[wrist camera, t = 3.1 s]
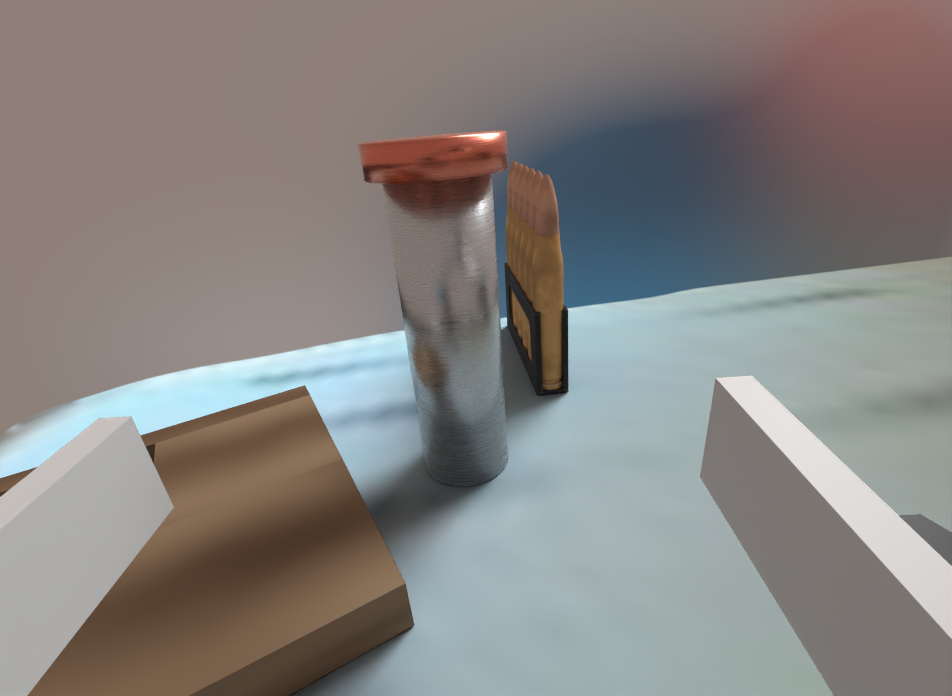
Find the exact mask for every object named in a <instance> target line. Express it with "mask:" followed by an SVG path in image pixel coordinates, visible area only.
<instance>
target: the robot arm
mask: <svg viewBox="0 0 952 696" xmlns="http://www.w3.org/2000/svg"><path fill="white" fill-rule="evenodd" d="M700 478H701V479H702V481H703V483H704V484H705V486H706V488H707V489H708V491H709V492H710V494H711V496H712V497H713V499H714V501H715V502H716V504H717V505H718V507H719V509H720V510H721V512H722V514H723V515H724V517H725V519H726V520H727V522H728V523H729V525H730V527H731V528H732V530H733V532H734V533H735V535H736V536H737V538H738V540H739V541H740V543H741V545H742V546H743V548H744V550H745V551H746V553H747V554H748V556H749V558H750V559H751V561H752V563H753V564H754V566H755V567H756V569H757V571H758V572H759V574H760V576H761V577H762V579H763V581H764V582H765V584H766V585H767V587H768V589H769V590H770V592H771V594H772V595H773V597H774V598H775V600H776V602H777V603H778V605H779V607H780V608H781V610H782V612H783V613H784V615H785V616H786V618H787V620H788V621H789V623H790V625H791V626H792V628H793V629H794V631H795V633H796V634H797V636H798V638H799V639H800V641H801V643H802V644H803V646H804V647H805V649H806V651H807V652H808V654H809V656H810V657H811V659H812V660H813V662H814V664H815V665H816V667H817V669H818V670H819V672H820V674H821V675H822V677H823V678H824V680H825V682H826V683H827V685H828V687H829V688H830V690H831V691H832V693H833V695H834V696H952V532H950V531H948V530H946V529H945V528H943V527H941V526H940V525H938V524H936V523H934V522H933V521H931V520H929V519H928V518H926V517H924V516H922V515H921V514H918V515H900V516H898V515H897V514H896V513H895V512H894V511H893V510H892V509H891V508H890V507H889V506H888V505H887V504H886V503H885V502H884V501H883V500H882V499H881V498H880V497H879V496H877V495H876V494H875V493H874V492H873V491H872V490H871V489H870V488H869V487H868V486H867V485H866V484H865V483H864V482H863V481H862V480H861V479H860V478H859V477H858V476H856V475H855V474H854V473H853V472H852V471H851V470H850V469H849V468H848V467H847V466H846V465H845V464H844V463H843V462H842V461H841V460H840V459H839V458H838V457H837V456H835V455H834V454H833V453H832V452H831V451H830V450H829V449H828V448H827V447H826V446H825V445H824V444H823V443H822V442H821V441H820V440H819V439H818V438H817V437H816V436H814V435H813V434H812V433H811V432H810V431H809V430H808V429H807V428H806V427H805V426H804V425H803V424H802V423H801V422H800V421H799V420H798V419H797V418H796V417H795V416H793V415H792V414H791V413H790V412H789V411H788V410H787V409H786V408H785V407H784V406H783V405H782V404H781V403H780V402H779V401H778V400H777V399H776V398H775V397H773V396H772V395H771V394H770V393H769V392H768V391H767V390H766V389H765V388H764V387H763V386H762V385H761V384H760V383H759V382H758V381H757V380H756V379H755V378H754V377H752V376H740V377H724V378H716V380H715V386H714V392H713V399H712V405H711V411H710V417H709V424H708V430H707V436H706V443H705V449H704V455H703V461H702V468H701V474H700ZM173 508H174V506H173V504H172V502H171V500H170V498H169V496H168V493H167V491H166V489H165V487H164V485H163V483H162V481H161V479H160V476H159V474H158V472H157V470H156V468H155V466H154V464H153V462H152V459H151V457H150V455H149V453H148V451H147V449H146V447H145V445H144V442H143V440H142V438H141V436H140V434H139V432H138V430H137V428H136V425H135V423H134V421H133V419H132V417H131V416H129V417H114V418H99V419H98V420H96V421H95V422H94V423H93V424H91V425H90V426H89V427H88V428H86V429H85V430H84V431H83V432H81V433H80V434H79V435H78V436H76V437H75V438H74V439H72V440H71V441H70V442H69V443H67V444H66V445H65V446H64V447H62V448H61V449H60V450H59V451H57V452H56V453H55V454H54V455H52V456H51V457H50V458H49V459H47V460H46V461H45V462H44V463H42V464H41V465H40V466H39V467H37V468H36V469H35V470H34V471H32V472H31V473H30V474H29V475H27V476H26V477H25V478H24V479H22V480H21V481H20V482H19V483H17V484H16V485H15V486H13V487H12V488H11V489H10V490H8V491H7V492H6V493H5V494H3V495H2V496H1V497H0V696H27V695H28V694H29V693H30V692H31V690H32V689H33V688H34V686H35V685H36V684H37V683H38V681H39V680H40V679H41V677H42V676H43V675H44V674H45V672H46V671H47V670H48V668H49V667H50V666H51V665H52V663H53V662H54V661H55V659H56V658H57V657H58V656H59V654H60V653H61V652H62V650H63V649H64V648H65V647H66V645H67V644H68V643H69V641H70V640H71V639H72V638H73V636H74V635H75V634H76V632H77V631H78V630H79V629H80V627H81V626H82V625H83V623H84V622H85V621H86V620H87V618H88V617H89V616H90V614H91V613H92V612H93V611H94V609H95V608H96V607H97V605H98V604H99V603H100V602H101V600H102V599H103V598H104V596H105V595H106V594H107V593H108V591H109V590H110V589H111V587H112V586H113V585H114V584H115V582H116V581H117V580H118V578H119V577H120V576H121V575H122V573H123V572H124V571H125V570H126V568H127V567H128V566H129V564H130V563H131V562H132V561H133V559H134V558H135V557H136V555H137V554H138V553H139V552H140V550H141V549H142V548H143V546H144V545H145V544H146V543H147V541H148V540H149V539H150V537H151V536H152V535H153V534H154V532H155V531H156V530H157V528H158V527H159V526H160V525H161V523H162V522H163V521H164V519H165V518H166V517H167V516H168V514H169V513H170V512H171V510H172V509H173Z"/></svg>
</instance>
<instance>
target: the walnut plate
mask: <svg viewBox="0 0 952 696" xmlns="http://www.w3.org/2000/svg"><path fill="white" fill-rule="evenodd" d="M141 438H142V440H143V442H144V445H145V447H146V449H147V451H148V453H149V455H150V457H151V459H152V462H153V464H154V466H155V468H156V470H157V472H158V474H159V476H160V479H161V481H162V483H163V485H164V487H165V489H166V491H167V493H168V496H169V498H170V500H171V502H172V504H173V506H174V508H173V509H172V510H171V512H170V513H169V514H168V516H167V517H166V518H165V519H164V521H163V522H162V523H161V525H160V526H159V527H158V528H157V530H156V531H155V532H154V534H153V535H152V536H151V537H150V539H149V540H148V541H147V543H146V544H145V545H144V546H143V548H142V549H141V550H140V552H139V553H138V554H137V555H136V557H135V558H134V559H133V561H132V562H131V563H130V564H129V566H128V567H127V568H126V570H125V571H124V572H123V573H122V575H121V576H120V577H119V578H118V580H117V581H116V582H115V584H114V585H113V586H112V587H111V589H110V590H109V591H108V593H107V594H106V595H105V596H104V598H103V599H102V600H101V602H100V603H99V604H98V605H97V607H96V608H95V609H94V611H93V612H92V613H91V614H90V616H89V617H88V618H87V620H86V621H85V622H84V623H83V625H82V626H81V627H80V629H79V630H78V631H77V632H76V634H75V635H74V636H73V638H72V639H71V640H70V641H69V643H68V644H67V645H66V647H65V648H64V649H63V650H62V652H61V653H60V654H59V656H58V657H57V658H56V659H55V661H54V662H53V663H52V665H51V666H50V667H49V668H48V670H47V671H46V672H45V674H44V675H43V676H42V677H41V679H40V680H39V681H38V683H37V684H36V685H35V686H34V688H33V689H32V690H31V692H30V693H29V694H28V695H27V696H289V695H291V694H293V693H294V692H296V691H298V690H300V689H302V688H303V687H305V686H307V685H309V684H310V683H312V682H314V681H316V680H318V679H319V678H321V677H323V676H325V675H327V674H328V673H330V672H332V671H334V670H335V669H337V668H339V667H341V666H343V665H344V664H346V663H348V662H350V661H351V660H353V659H355V658H357V657H359V656H360V655H362V654H364V653H366V652H367V651H369V650H371V649H373V648H375V647H376V646H378V645H380V644H382V643H383V642H385V641H387V640H389V639H391V638H392V637H394V636H396V635H398V634H399V633H401V632H403V631H405V630H407V629H408V628H410V627H412V626H414V622H413V617H412V612H411V608H410V603H409V598H408V593H407V589H406V584H405V582H404V580H403V578H402V576H401V574H400V572H399V570H398V568H397V566H396V564H395V562H394V560H393V558H392V556H391V554H390V552H389V550H388V548H387V546H386V544H385V542H384V540H383V538H382V536H381V534H380V532H379V530H378V528H377V526H376V524H375V522H374V520H373V519H372V517H371V515H370V513H369V511H368V509H367V507H366V505H365V503H364V501H363V499H362V497H361V495H360V493H359V491H358V489H357V487H356V485H355V483H354V481H353V479H352V477H351V475H350V473H349V471H348V469H347V467H346V465H345V463H344V461H343V459H342V457H341V455H340V454H339V452H338V450H337V448H336V446H335V444H334V442H333V440H332V438H331V436H330V434H329V432H328V430H327V428H326V426H325V424H324V422H323V420H322V418H321V416H320V414H319V412H318V410H317V408H316V406H315V404H314V402H313V400H312V398H311V396H310V394H309V392H308V390H307V389H306V387H305V386H301V387H298V388H295V389H291V390H288V391H285V392H282V393H278V394H275V395H272V396H269V397H265V398H262V399H259V400H255V401H252V402H249V403H246V404H242V405H239V406H236V407H232V408H229V409H226V410H223V411H219V412H216V413H213V414H210V415H206V416H203V417H200V418H196V419H193V420H190V421H187V422H183V423H180V424H177V425H174V426H170V427H167V428H164V429H160V430H157V431H154V432H151V433H147V434H144V435H141ZM36 468H37V467H36ZM36 468H33V469H30V470H26V471H23V472H20V473H16V474H13V475H10V476H7V477H3V478H0V497H1V496H2V495H3V494H5V493H6V492H7V491H8V490H10V489H11V488H12V487H13V486H15V485H16V484H17V483H19V482H20V481H21V480H22V479H24V478H25V477H26V476H27V475H29V474H30V473H31V472H32V471H34V470H35V469H36Z"/></svg>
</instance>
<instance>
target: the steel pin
mask: <svg viewBox="0 0 952 696" xmlns="http://www.w3.org/2000/svg"><path fill="white" fill-rule="evenodd" d="M358 145H359V151H360V157H361V163H362V169H363V174H364V181H366V182H369V183H382V185H383V192H384V198H385V205H386V211H387V217H388V224H389V230H390V237H391V244H392V250H393V257H394V263H395V270H396V276H397V282H398V289H399V295H400V302H401V309H402V315H403V322H404V328H405V335H406V341H407V348H408V354H409V361H410V367H411V374H412V380H413V387H414V393H415V400H416V406H417V412H418V419H419V425H420V432H421V438H422V445H423V451H424V458H425V464H426V469H427V471H428V473H429V474H430V475H431V476H432V477H433V478H434V479H436V480H437V481H439V482H441V483H444V484H447V485H451V486H473V485H478V484H481V483H484V482H487V481H489V480H491V479H493V478H494V477H496V476H497V475H498V474H500V473H501V472H502V470H503V469H504V468H505V466H506V464H507V461H508V444H507V427H506V410H505V393H504V376H503V359H502V342H501V325H500V308H499V291H498V275H497V258H496V241H495V224H494V208H493V190H492V173H496V172H500V171H503V170H506V169H507V168H508V161H507V140H506V131H483V132H466V133H453V134H440V135H429V136H418V137H407V138H398V139H388V140H379V141H372V142H364V143H359V144H358Z"/></svg>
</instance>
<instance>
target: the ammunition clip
mask: <svg viewBox="0 0 952 696" xmlns="http://www.w3.org/2000/svg"><path fill="white" fill-rule="evenodd" d="M506 251H507V263H505V282H506V283H505V284H506V305H507V326H508V328H509V331H510V333H511V335H512V338H513V340H514V342H515V345H516V347H517V349H518V352H519V354H520V356H521V359H522V361H523V364H524V366H525V368H526V371H527V373H528V375H529V378H530V380H531V382H532V385H533V387H534V389H535V392H536V394H537V395H540V394H548V393H556V392H564V391H568V309H567V308H566V307H565V306H564V304H563V258H562V253H561V248H560V233H559V216H558V207H557V200H556V195H555V191H554V187H553V184H552V181H551V179H550V177H549V175H548V174H546V175H544V176H542V173H541V172H540V171H537V172H536V173H535V171H534V169H533V168H530V169H528V167H527V166H526V165H524V166H522V164H521V163H518V164H517V162H516V161H513V162H512V164H511V167H510V171H509V177H508V185H507V222H506Z"/></svg>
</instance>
